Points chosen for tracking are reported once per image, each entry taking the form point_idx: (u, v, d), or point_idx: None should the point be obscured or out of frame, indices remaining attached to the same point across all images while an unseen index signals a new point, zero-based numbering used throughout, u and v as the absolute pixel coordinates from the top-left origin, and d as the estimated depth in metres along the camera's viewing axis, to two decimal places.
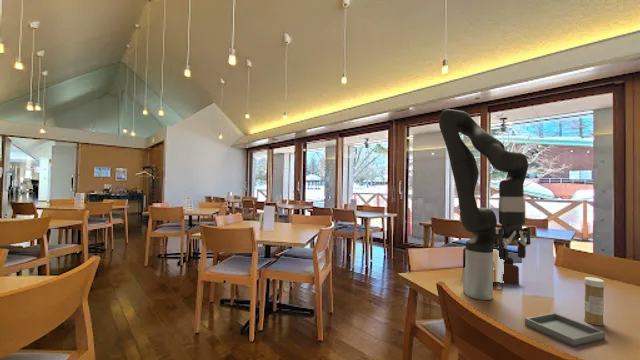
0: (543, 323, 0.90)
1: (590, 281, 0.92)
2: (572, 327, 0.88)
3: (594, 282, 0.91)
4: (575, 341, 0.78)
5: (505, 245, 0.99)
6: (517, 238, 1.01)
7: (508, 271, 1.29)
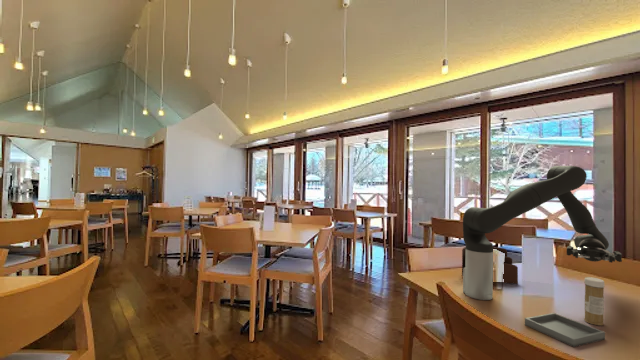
0: (543, 323, 0.90)
1: (590, 281, 0.92)
2: (572, 327, 0.88)
3: (594, 282, 0.91)
4: (575, 341, 0.78)
5: None
6: (588, 256, 1.07)
7: (507, 271, 1.30)
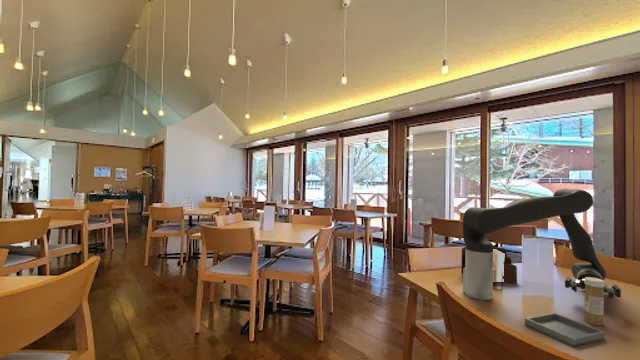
0: (543, 323, 0.90)
1: (590, 281, 0.92)
2: (572, 327, 0.88)
3: (594, 282, 0.91)
4: (575, 341, 0.78)
5: None
6: None
7: (506, 270, 1.30)
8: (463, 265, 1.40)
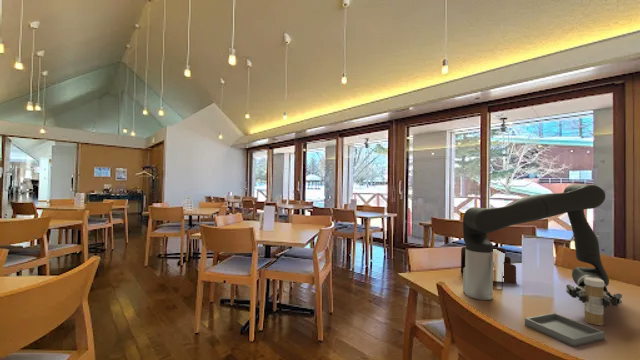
0: (543, 323, 0.90)
1: (590, 281, 0.92)
2: (572, 327, 0.88)
3: (593, 282, 0.91)
4: (575, 341, 0.78)
5: None
6: None
7: (505, 270, 1.30)
8: (462, 265, 1.41)
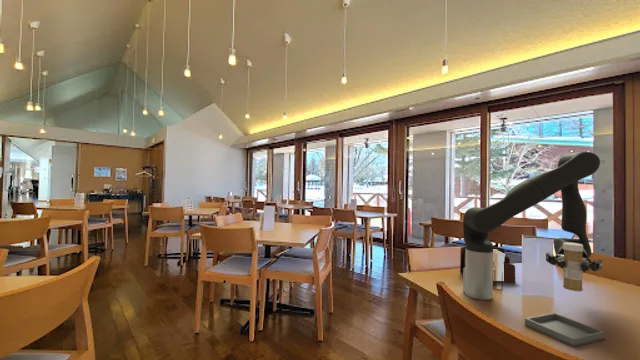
0: (543, 323, 0.90)
1: (568, 245, 0.88)
2: (572, 327, 0.88)
3: (572, 246, 0.87)
4: (575, 341, 0.78)
5: None
6: None
7: (505, 270, 1.31)
8: (462, 265, 1.41)
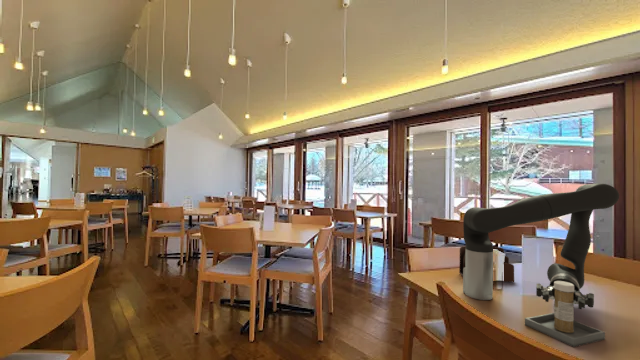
0: (543, 323, 0.90)
1: (559, 285, 0.86)
2: None
3: (563, 286, 0.85)
4: (575, 341, 0.78)
5: None
6: None
7: (504, 269, 1.32)
8: (461, 264, 1.42)
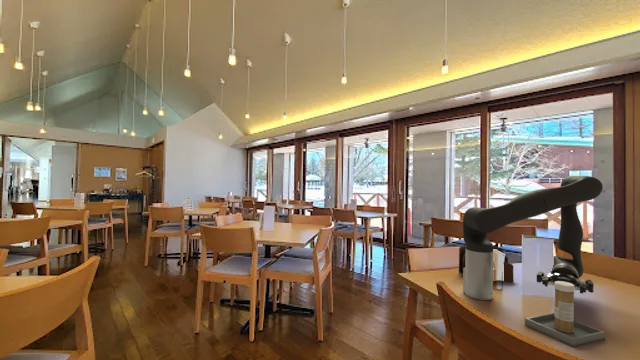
0: (543, 323, 0.90)
1: (559, 285, 0.85)
2: None
3: (563, 286, 0.85)
4: (575, 341, 0.78)
5: None
6: None
7: None
8: (460, 264, 1.42)
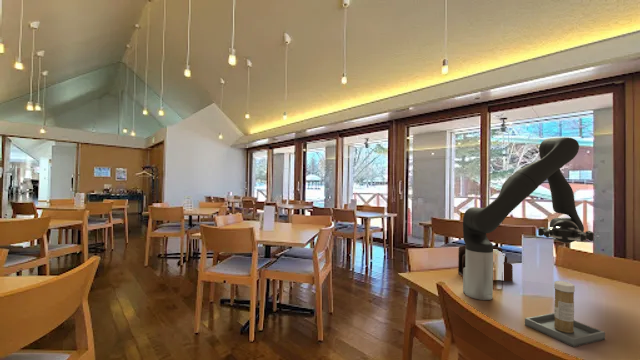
0: (543, 323, 0.90)
1: (559, 285, 0.85)
2: None
3: (563, 286, 0.85)
4: (575, 341, 0.78)
5: None
6: None
7: None
8: (460, 264, 1.42)
